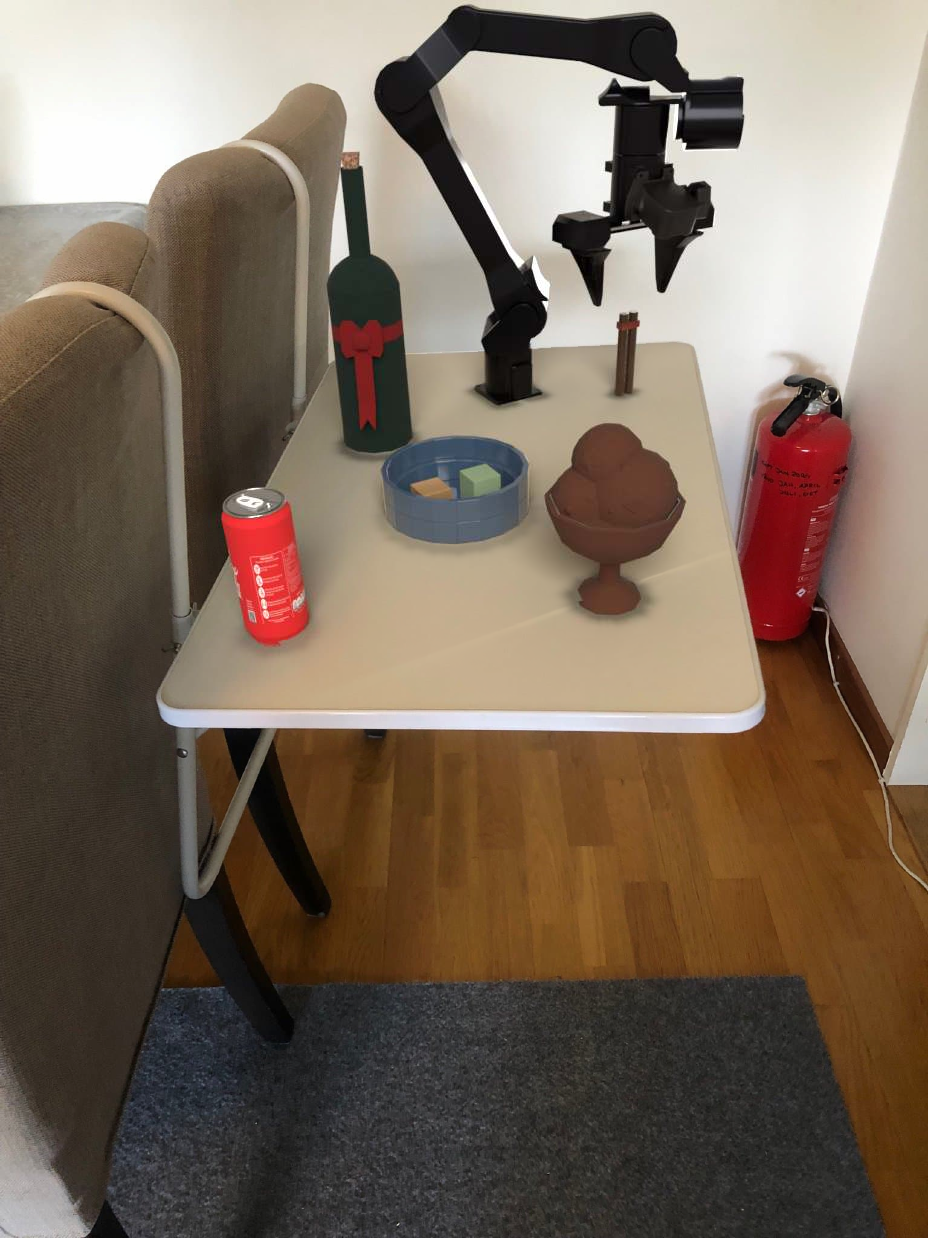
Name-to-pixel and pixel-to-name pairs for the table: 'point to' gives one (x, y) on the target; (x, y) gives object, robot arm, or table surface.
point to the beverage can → (265, 564)
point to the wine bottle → (367, 332)
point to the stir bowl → (455, 489)
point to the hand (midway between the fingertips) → (629, 298)
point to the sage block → (479, 481)
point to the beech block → (432, 489)
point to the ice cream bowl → (613, 510)
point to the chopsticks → (626, 351)
